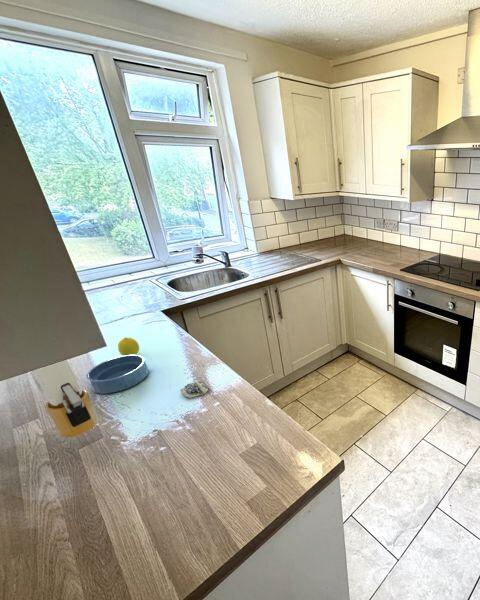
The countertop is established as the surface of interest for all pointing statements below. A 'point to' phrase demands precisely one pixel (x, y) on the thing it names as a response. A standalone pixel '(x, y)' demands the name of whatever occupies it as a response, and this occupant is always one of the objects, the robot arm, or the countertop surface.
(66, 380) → the robot arm
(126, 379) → the bowl
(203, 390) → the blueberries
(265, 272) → the countertop surface
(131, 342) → the lemon
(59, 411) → the cup
